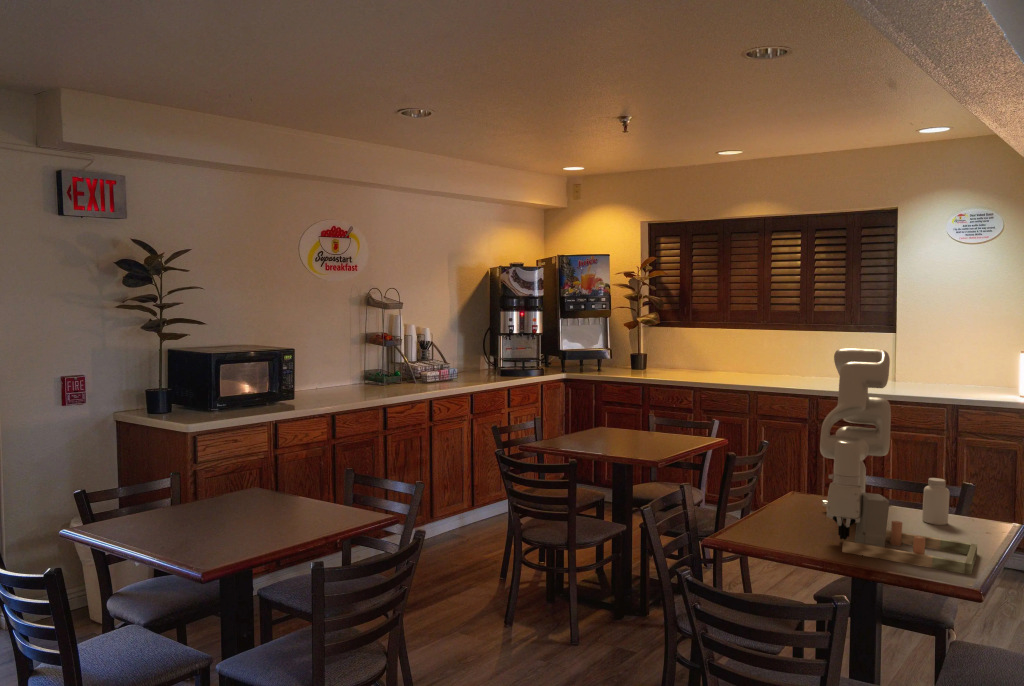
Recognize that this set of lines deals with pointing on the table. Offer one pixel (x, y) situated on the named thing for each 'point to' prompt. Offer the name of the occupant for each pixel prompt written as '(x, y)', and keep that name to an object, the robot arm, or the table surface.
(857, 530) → the skincare box
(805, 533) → the table surface
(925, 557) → the lane
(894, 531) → the post
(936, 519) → the pill bottle
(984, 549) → the table surface
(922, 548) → the post
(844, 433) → the robot arm
